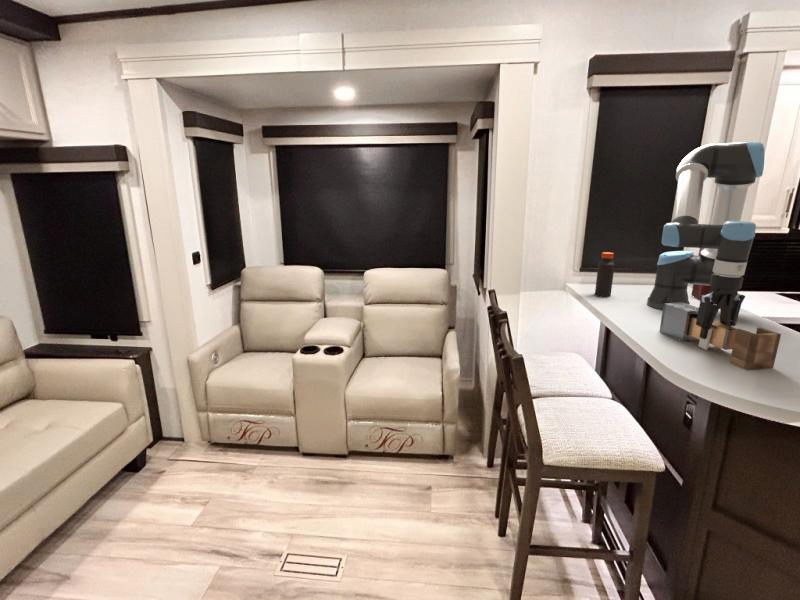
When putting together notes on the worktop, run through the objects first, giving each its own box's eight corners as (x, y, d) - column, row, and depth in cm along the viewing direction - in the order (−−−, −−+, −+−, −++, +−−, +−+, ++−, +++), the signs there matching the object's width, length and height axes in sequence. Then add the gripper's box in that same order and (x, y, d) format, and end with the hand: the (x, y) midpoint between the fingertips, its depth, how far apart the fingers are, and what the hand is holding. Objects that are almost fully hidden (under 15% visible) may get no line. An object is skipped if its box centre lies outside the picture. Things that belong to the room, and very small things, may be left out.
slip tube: (682, 327, 142) (685, 310, 140) (737, 348, 123) (741, 329, 121) (671, 328, 141) (674, 311, 140) (725, 349, 122) (729, 330, 120)
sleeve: (677, 330, 146) (681, 302, 143) (701, 340, 136) (706, 310, 134) (659, 331, 145) (663, 303, 142) (682, 341, 135) (687, 311, 133)
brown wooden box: (753, 360, 120) (761, 327, 117) (772, 368, 115) (781, 334, 112) (729, 362, 119) (736, 329, 116) (748, 370, 113) (755, 335, 111)
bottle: (613, 297, 191) (618, 254, 186) (598, 297, 191) (603, 254, 186) (606, 293, 198) (611, 251, 193) (592, 293, 198) (597, 252, 193)
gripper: (712, 278, 117) (695, 354, 124) (765, 276, 120) (745, 350, 127) (691, 272, 125) (675, 344, 131) (741, 270, 127) (723, 341, 134)
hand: (710, 347), depth 129 cm, fingers open, 4 cm apart
